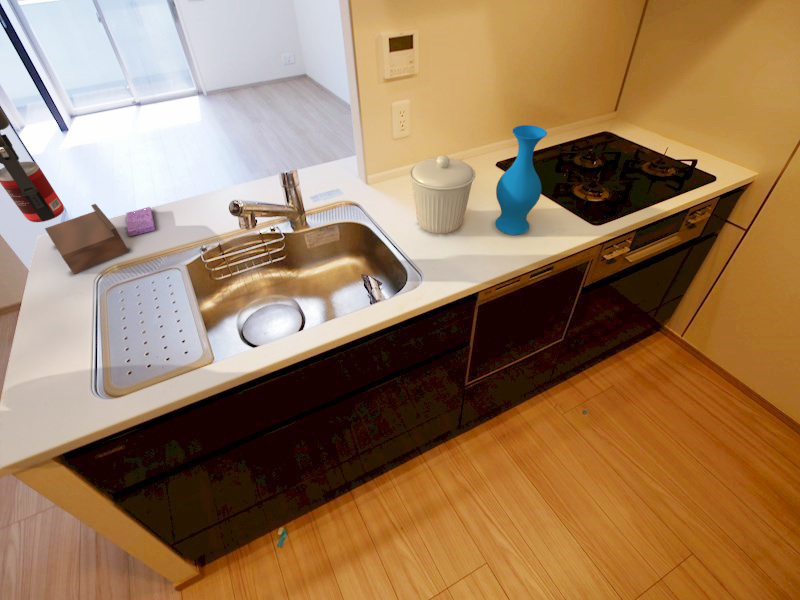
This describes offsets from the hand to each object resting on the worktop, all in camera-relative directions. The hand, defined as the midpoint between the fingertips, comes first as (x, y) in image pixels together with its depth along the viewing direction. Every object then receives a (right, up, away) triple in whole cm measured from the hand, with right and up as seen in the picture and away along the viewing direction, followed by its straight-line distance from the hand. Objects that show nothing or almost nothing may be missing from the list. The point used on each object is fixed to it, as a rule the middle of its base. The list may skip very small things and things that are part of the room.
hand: (44, 211), depth 98 cm
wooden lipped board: (-5, -6, +23) cm, 24 cm away
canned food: (0, -1, +1) cm, 1 cm away
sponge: (+3, +3, +32) cm, 32 cm away
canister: (+94, +2, +29) cm, 98 cm away
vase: (+115, +1, +28) cm, 118 cm away
